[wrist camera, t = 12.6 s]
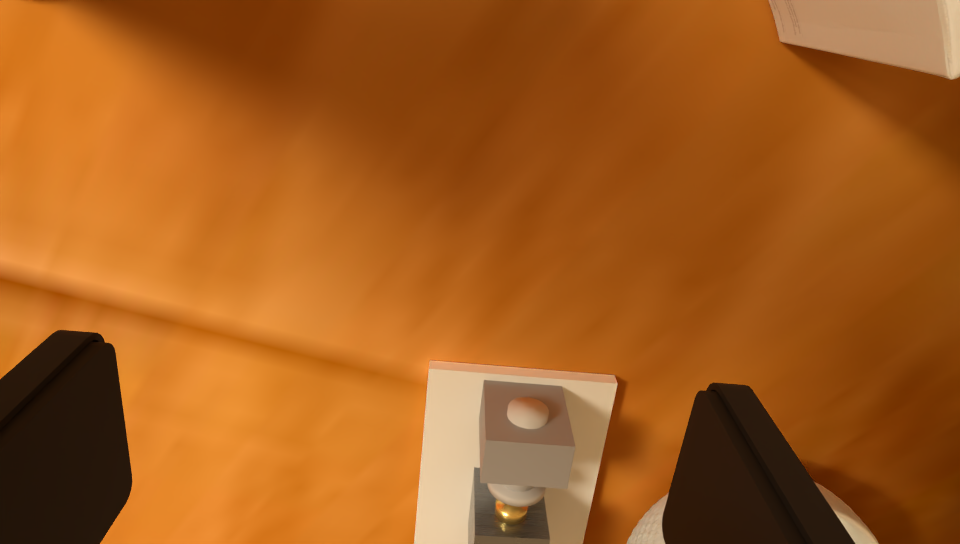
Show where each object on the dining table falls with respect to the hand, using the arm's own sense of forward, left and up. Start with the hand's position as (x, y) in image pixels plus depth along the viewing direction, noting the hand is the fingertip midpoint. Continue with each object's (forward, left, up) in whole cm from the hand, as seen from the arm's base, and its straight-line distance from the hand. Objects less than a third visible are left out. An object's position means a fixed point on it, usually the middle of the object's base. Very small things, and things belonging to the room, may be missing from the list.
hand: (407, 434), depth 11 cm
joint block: (+6, -26, -27) cm, 38 cm away
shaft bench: (+6, -26, -28) cm, 39 cm away
